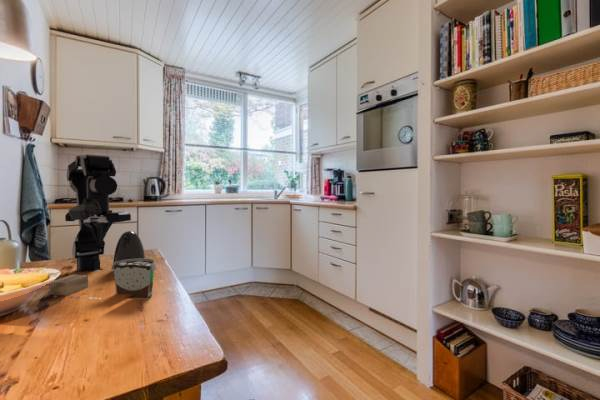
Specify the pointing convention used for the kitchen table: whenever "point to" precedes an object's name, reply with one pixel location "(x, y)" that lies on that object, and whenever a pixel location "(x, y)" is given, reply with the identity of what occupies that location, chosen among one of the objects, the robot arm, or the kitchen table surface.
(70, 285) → the grey rectangular block
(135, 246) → the dark grey rounded cone
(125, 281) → the food container
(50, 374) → the kitchen table surface
